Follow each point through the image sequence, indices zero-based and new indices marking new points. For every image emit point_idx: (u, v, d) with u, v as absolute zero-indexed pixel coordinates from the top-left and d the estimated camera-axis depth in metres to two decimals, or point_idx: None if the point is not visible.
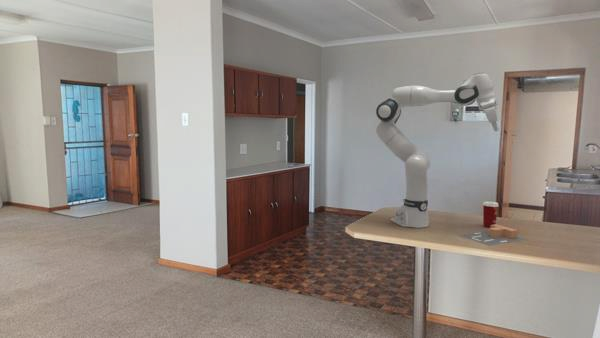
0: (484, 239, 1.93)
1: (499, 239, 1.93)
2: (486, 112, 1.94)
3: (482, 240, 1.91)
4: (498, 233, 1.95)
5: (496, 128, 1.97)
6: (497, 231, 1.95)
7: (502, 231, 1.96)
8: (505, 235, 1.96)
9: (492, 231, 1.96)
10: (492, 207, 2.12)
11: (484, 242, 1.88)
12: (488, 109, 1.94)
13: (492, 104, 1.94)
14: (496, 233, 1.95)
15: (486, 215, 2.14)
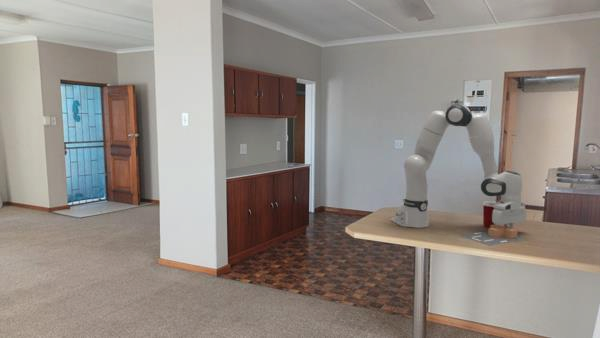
0: (484, 239, 1.93)
1: (499, 239, 1.93)
2: (493, 212, 1.98)
3: (482, 240, 1.91)
4: (498, 233, 1.95)
5: None
6: (497, 231, 1.95)
7: (502, 231, 1.96)
8: (505, 235, 1.96)
9: (492, 231, 1.96)
10: (492, 207, 2.12)
11: (484, 242, 1.88)
12: (496, 211, 1.97)
13: (501, 208, 1.95)
14: (496, 233, 1.95)
15: (486, 215, 2.14)
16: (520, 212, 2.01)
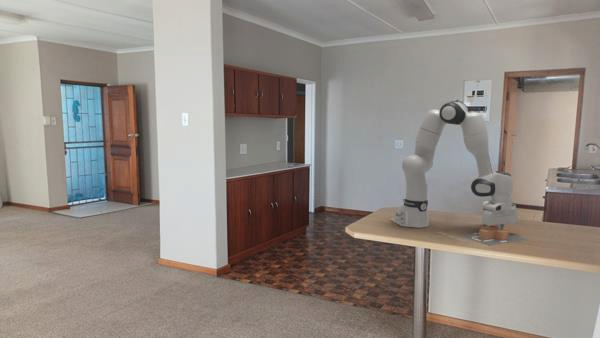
0: None
1: None
2: (483, 213, 1.95)
3: (482, 240, 1.91)
4: (489, 235, 1.92)
5: None
6: (488, 233, 1.92)
7: (493, 233, 1.93)
8: (496, 237, 1.93)
9: (483, 232, 1.93)
10: None
11: (484, 242, 1.88)
12: (486, 212, 1.94)
13: (491, 209, 1.92)
14: (487, 235, 1.92)
15: None
16: (511, 213, 1.98)
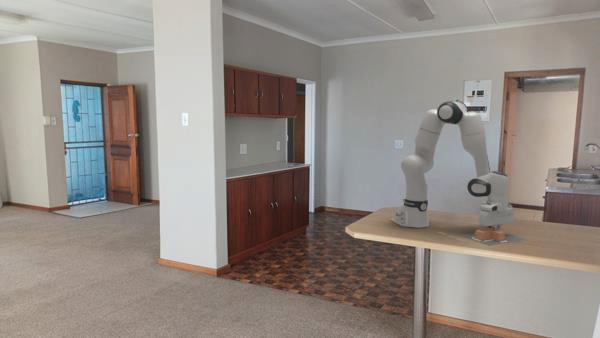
0: None
1: None
2: (479, 214, 1.94)
3: None
4: (485, 235, 1.91)
5: None
6: (484, 233, 1.91)
7: (490, 233, 1.92)
8: (492, 237, 1.92)
9: (479, 233, 1.92)
10: None
11: (484, 242, 1.88)
12: (482, 212, 1.93)
13: (487, 209, 1.91)
14: (483, 235, 1.91)
15: None
16: (507, 213, 1.97)
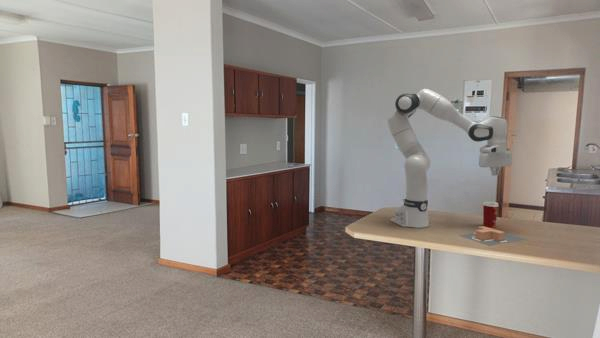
0: None
1: None
2: (479, 156, 2.05)
3: None
4: (485, 235, 1.91)
5: (493, 173, 2.07)
6: (484, 233, 1.91)
7: (490, 233, 1.92)
8: (492, 237, 1.92)
9: (479, 233, 1.92)
10: (492, 207, 2.12)
11: (484, 242, 1.88)
12: (482, 154, 2.04)
13: (487, 151, 2.02)
14: (483, 235, 1.91)
15: (486, 215, 2.14)
16: (506, 157, 2.08)
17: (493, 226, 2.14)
